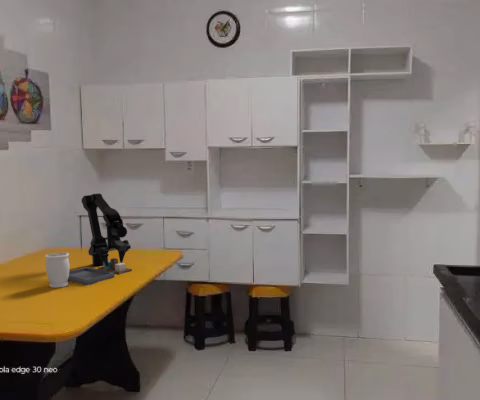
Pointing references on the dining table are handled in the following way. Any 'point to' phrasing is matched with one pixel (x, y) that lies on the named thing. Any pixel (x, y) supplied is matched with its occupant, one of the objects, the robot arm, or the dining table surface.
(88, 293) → the dining table surface
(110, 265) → the teal block
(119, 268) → the cream block
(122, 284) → the dining table surface
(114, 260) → the caddy
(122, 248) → the robot arm
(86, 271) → the tray
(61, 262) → the jar
